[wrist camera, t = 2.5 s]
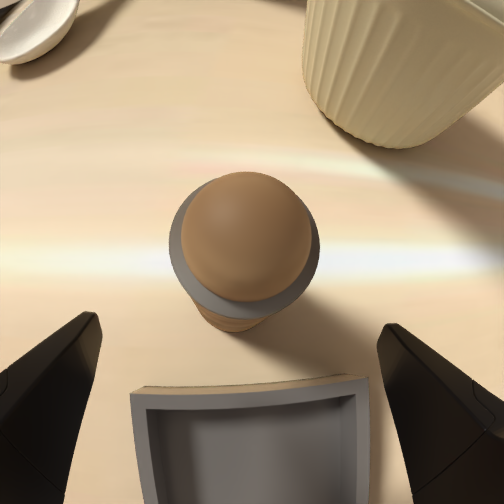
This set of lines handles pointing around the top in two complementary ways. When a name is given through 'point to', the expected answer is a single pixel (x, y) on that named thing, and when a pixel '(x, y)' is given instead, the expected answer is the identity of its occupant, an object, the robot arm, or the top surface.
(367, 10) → the canister
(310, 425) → the dish
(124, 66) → the top surface
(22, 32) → the spoon rest
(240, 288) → the shaker
